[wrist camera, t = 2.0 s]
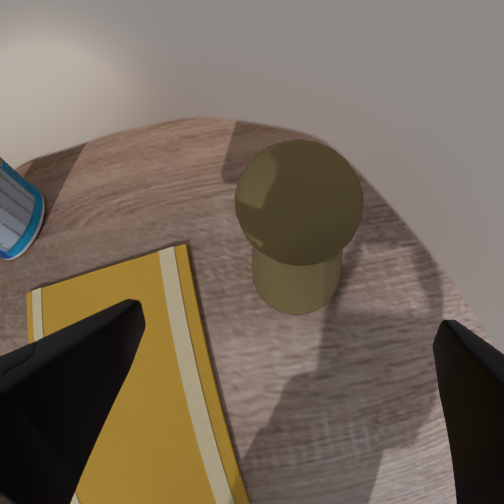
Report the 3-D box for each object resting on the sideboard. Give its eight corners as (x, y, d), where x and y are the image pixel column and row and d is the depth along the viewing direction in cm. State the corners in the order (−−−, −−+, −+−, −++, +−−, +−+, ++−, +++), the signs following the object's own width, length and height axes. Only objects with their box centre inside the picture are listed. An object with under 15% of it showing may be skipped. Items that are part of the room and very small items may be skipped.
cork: (243, 241, 22) (205, 138, 12) (325, 220, 22) (344, 107, 12) (263, 325, 20) (234, 278, 10) (352, 300, 20) (408, 231, 10)
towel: (253, 515, 15) (253, 517, 15) (69, 511, 16) (66, 512, 15) (187, 245, 23) (185, 242, 22) (29, 294, 23) (25, 292, 23)
